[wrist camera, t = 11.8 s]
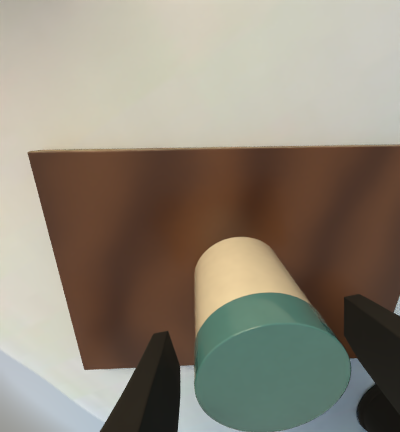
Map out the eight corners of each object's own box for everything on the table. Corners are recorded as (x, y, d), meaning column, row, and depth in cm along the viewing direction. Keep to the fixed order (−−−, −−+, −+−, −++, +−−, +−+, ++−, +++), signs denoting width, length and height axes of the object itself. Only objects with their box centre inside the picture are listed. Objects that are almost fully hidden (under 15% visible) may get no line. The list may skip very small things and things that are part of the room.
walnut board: (428, 144, 12) (452, 145, 11) (365, 342, 17) (378, 357, 16) (42, 149, 11) (26, 151, 10) (91, 353, 16) (84, 370, 15)
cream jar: (277, 226, 12) (353, 308, 6) (285, 302, 14) (350, 419, 8) (183, 246, 12) (177, 341, 7) (202, 318, 14) (210, 443, 8)
